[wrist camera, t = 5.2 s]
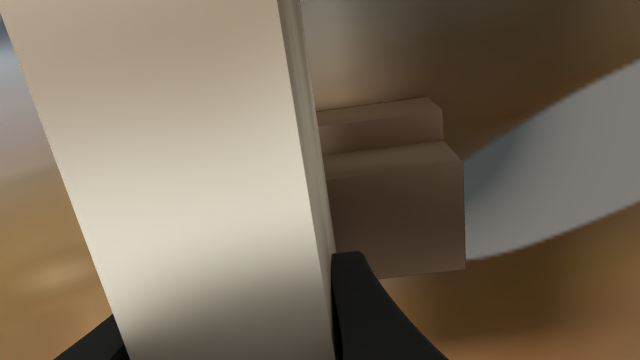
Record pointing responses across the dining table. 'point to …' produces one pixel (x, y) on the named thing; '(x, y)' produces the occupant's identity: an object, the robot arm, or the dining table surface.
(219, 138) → the metal bar
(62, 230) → the dining table surface
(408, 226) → the walnut ridge
